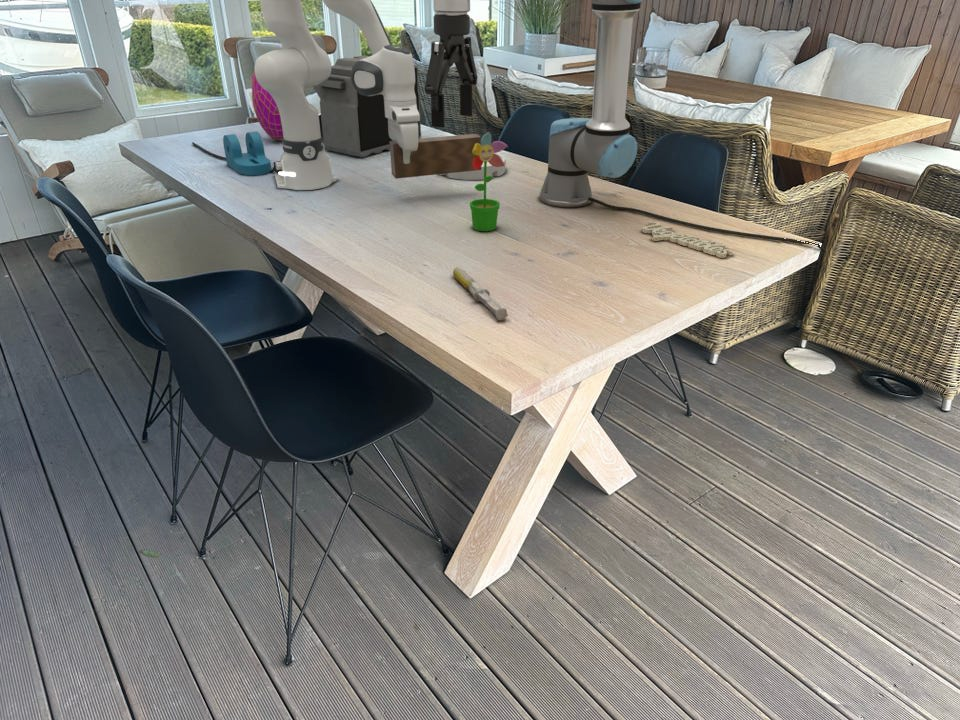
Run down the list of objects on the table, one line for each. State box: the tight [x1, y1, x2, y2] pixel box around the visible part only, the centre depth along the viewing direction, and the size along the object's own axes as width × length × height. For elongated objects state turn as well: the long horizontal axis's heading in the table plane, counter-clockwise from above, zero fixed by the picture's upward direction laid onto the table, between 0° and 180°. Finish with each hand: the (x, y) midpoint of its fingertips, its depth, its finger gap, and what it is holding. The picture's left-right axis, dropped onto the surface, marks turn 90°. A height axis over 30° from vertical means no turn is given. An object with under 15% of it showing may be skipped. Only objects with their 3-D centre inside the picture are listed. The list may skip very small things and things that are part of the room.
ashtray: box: [439, 152, 507, 181], centre depth 229 cm, size 23×23×4 cm
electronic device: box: [312, 55, 422, 159], centre depth 250 cm, size 37×22×30 cm, turn 144°
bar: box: [389, 133, 482, 180], centre depth 199 cm, size 26×5×10 cm, turn 110°
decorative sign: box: [641, 221, 733, 259], centre depth 174 cm, size 26×1×10 cm
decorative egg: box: [251, 69, 306, 142], centre depth 257 cm, size 19×19×30 cm
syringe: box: [452, 266, 509, 321], centre depth 145 cm, size 25×4×3 cm, turn 21°
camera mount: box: [222, 131, 272, 176], centre depth 226 cm, size 18×10×10 cm, turn 35°
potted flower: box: [469, 131, 509, 232], centre depth 175 cm, size 9×8×25 cm
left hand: (403, 160), depth 196 cm, fingers closed on bar, 4 cm apart
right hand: (452, 121), depth 151 cm, fingers open, 13 cm apart
